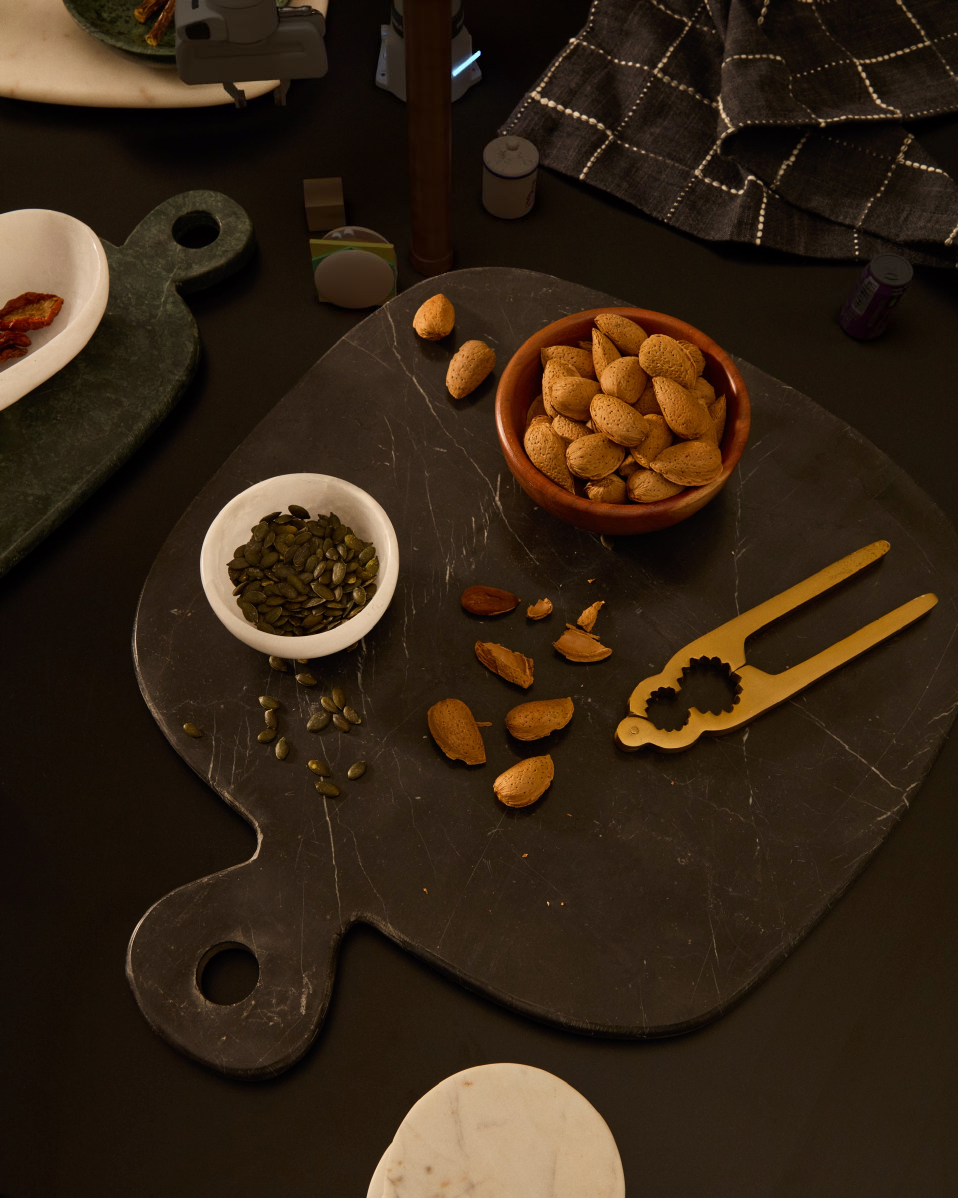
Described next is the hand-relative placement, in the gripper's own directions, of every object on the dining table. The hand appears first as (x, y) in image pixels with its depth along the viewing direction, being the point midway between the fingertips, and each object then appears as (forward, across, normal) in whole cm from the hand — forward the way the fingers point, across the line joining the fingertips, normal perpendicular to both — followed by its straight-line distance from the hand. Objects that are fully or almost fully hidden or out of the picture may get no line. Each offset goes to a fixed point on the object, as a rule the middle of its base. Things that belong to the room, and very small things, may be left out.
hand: (261, 103), depth 139 cm
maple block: (+21, -7, 0) cm, 22 cm away
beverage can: (+21, -88, +31) cm, 96 cm away
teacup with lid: (+21, -37, -2) cm, 43 cm away
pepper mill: (+21, -23, +11) cm, 33 cm away
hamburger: (+21, -11, +17) cm, 29 cm away
